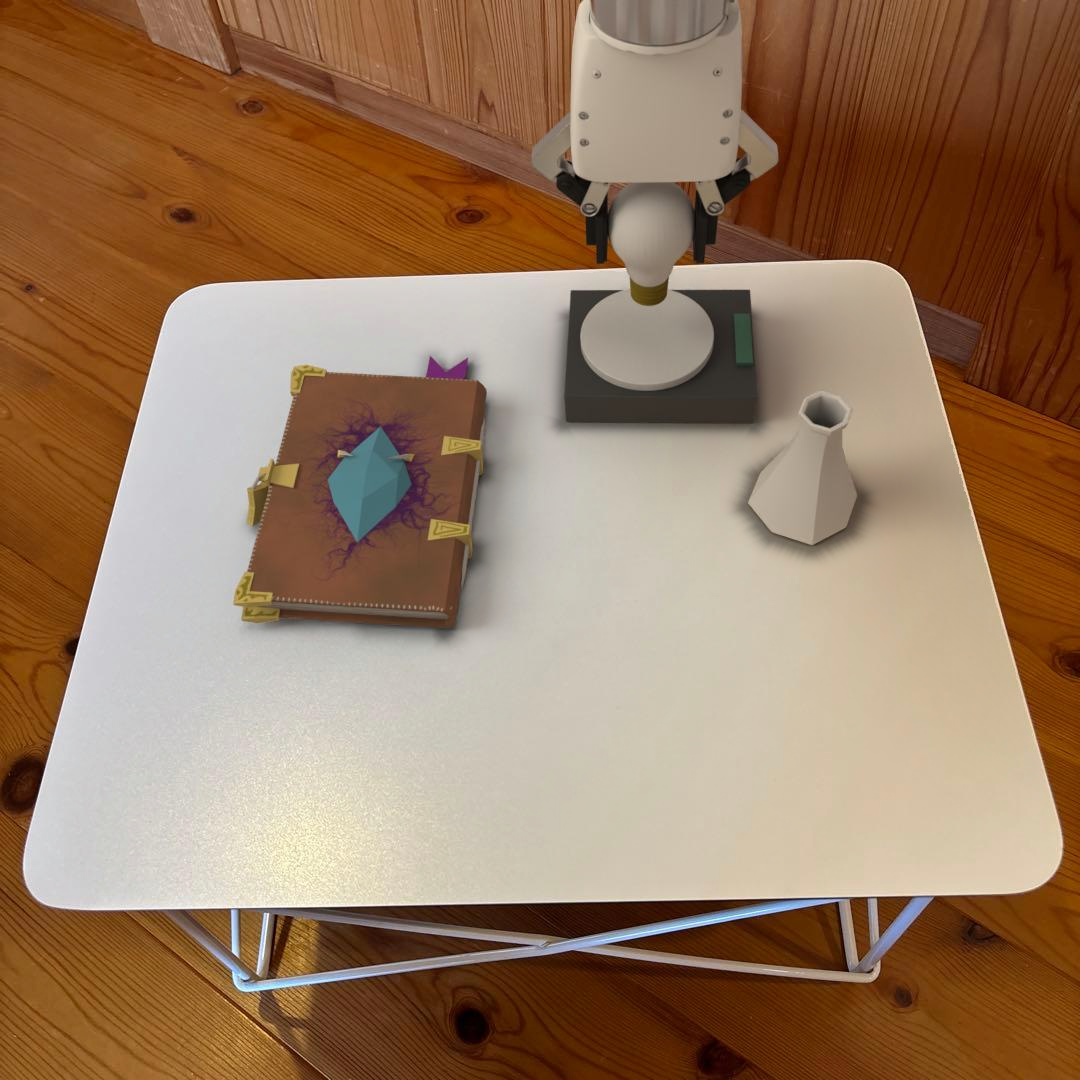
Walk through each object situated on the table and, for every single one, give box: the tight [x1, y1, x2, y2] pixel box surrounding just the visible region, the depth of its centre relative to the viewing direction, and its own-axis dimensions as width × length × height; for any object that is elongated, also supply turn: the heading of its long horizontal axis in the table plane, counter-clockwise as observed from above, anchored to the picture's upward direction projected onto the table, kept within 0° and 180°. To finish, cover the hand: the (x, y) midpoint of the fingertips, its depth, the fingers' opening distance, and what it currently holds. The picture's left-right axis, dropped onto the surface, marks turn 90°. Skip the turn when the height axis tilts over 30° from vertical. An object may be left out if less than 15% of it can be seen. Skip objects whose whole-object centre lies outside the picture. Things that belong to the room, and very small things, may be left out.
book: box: [232, 355, 488, 629], centre depth 75 cm, size 16×25×5 cm, turn 176°
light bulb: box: [607, 182, 695, 306], centre depth 71 cm, size 6×6×10 cm
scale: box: [563, 288, 758, 424], centre depth 79 cm, size 14×11×4 cm
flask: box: [747, 390, 858, 546], centre depth 69 cm, size 7×7×10 cm
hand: (650, 247), depth 71 cm, fingers closed on light bulb, 5 cm apart
